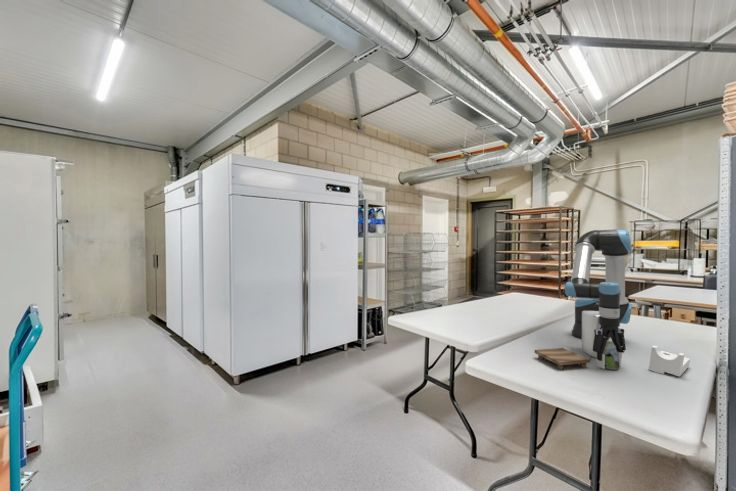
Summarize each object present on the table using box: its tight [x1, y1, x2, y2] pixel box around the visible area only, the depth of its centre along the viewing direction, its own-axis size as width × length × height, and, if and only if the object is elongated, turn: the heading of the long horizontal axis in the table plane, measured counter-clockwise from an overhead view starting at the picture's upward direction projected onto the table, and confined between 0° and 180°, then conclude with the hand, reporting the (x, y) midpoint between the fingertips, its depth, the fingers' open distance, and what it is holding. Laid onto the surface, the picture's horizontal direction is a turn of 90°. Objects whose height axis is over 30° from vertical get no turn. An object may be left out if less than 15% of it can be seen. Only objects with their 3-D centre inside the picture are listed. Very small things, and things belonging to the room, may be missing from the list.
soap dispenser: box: [581, 311, 620, 359], centre depth 159 cm, size 15×14×22 cm
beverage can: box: [603, 341, 621, 371], centre depth 143 cm, size 6×7×12 cm
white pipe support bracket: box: [648, 344, 691, 378], centre depth 141 cm, size 18×10×10 cm, turn 125°
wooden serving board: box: [534, 347, 591, 371], centre depth 150 cm, size 16×16×4 cm
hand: (609, 366), depth 143 cm, fingers open, 8 cm apart
